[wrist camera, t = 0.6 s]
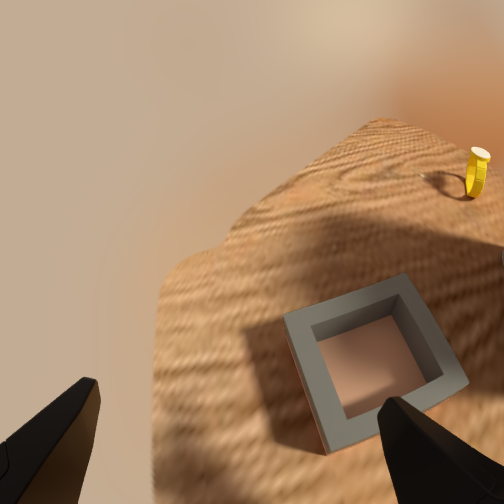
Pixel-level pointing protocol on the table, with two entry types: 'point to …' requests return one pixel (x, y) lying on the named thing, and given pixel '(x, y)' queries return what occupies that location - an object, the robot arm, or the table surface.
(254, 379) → the table surface
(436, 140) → the table surface
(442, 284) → the table surface
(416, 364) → the socket block
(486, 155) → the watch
